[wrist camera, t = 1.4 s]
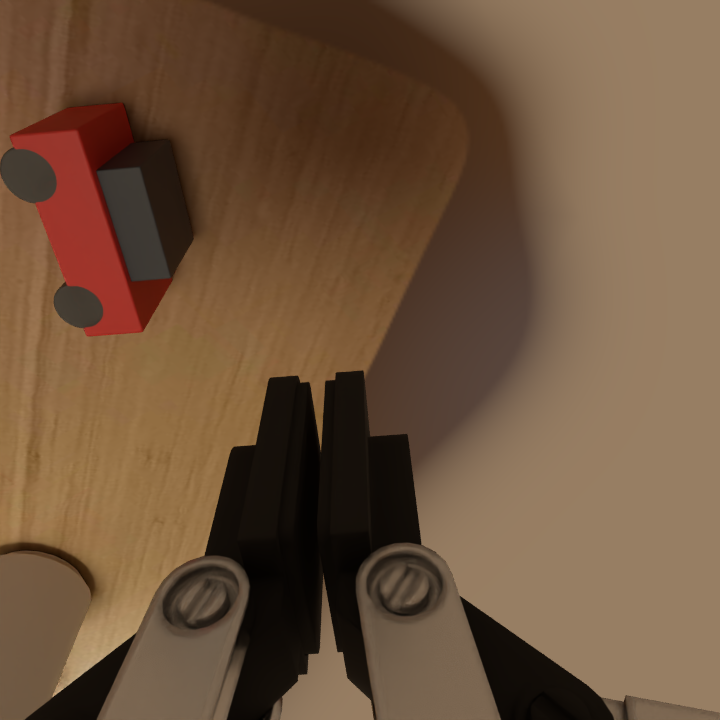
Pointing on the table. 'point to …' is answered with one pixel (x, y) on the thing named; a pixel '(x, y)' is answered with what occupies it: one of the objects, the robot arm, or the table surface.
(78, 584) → the can
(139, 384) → the table surface
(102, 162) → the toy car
